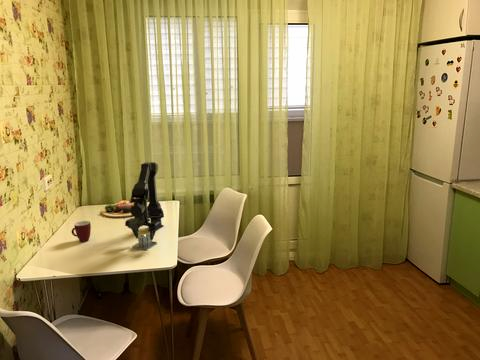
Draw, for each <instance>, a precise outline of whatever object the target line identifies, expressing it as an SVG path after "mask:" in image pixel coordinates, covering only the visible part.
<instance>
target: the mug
mask: <svg viewBox="0 0 480 360" xmlns="http://www.w3.org/2000/svg"><path fill="white" fill-rule="evenodd" d="M91 230H92V226H91V221H88V220H82V221H81V220H80V221H78V222H75V223H74V227H73V228H72V229H71V234H72V236H74V237H76V238H77V239H78V240H79V242H80V243H85V242H88V241H89V239H90V237H91Z"/></svg>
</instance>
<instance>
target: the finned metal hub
mask: <svg viewBox="0 0 480 360" xmlns="http://www.w3.org/2000/svg"><path fill="white" fill-rule="evenodd" d="M142 234H143V235H142V237H146V234H147V233H142ZM150 241H151V240H150ZM156 245H158V242H157V241H153V240H152V241H151V244H150V245H147V246H139V244H138V242H136V243H134V244H132V246H131V248H132V249H137V250H138V249H139V250H144V251H148V250H149V249H151V248H154V246H156Z"/></svg>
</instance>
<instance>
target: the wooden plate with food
mask: <svg viewBox="0 0 480 360" xmlns="http://www.w3.org/2000/svg"><path fill="white" fill-rule="evenodd" d="M134 199H138V198H135V197H134ZM133 205H134V202H131V198H129V200H123V199H122V200H121V201H119V202H117V203H114V204H113V203H110V204H107V205H105V206H104V208H103V209H102V210H101V212H100V213H101V216H103V217H105V218H108V219H109V218H110V219H130V218H134V216H132V214H131V213H130V210H131V208H132V207H133ZM148 205H149V203H148V202H147V207H148Z"/></svg>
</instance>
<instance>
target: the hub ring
mask: <svg viewBox="0 0 480 360" xmlns="http://www.w3.org/2000/svg"><path fill="white" fill-rule="evenodd" d="M143 234H144V233H141V234H138V238H137V241H138V242H137V243H138V244H139V246H147V245H150V244H151V239H150V233H145V234H146V237H142V235H143Z"/></svg>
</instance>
